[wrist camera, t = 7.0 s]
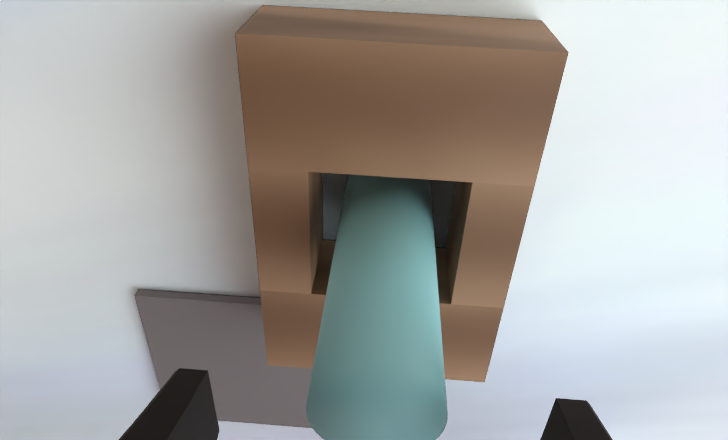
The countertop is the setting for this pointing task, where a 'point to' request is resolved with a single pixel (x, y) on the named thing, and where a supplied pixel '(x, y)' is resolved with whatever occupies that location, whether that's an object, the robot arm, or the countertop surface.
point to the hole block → (393, 152)
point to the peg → (381, 319)
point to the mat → (223, 355)
